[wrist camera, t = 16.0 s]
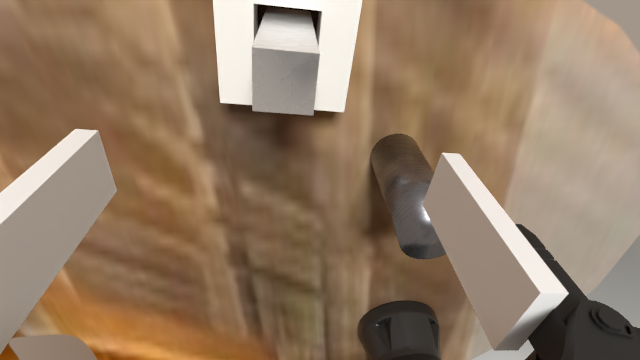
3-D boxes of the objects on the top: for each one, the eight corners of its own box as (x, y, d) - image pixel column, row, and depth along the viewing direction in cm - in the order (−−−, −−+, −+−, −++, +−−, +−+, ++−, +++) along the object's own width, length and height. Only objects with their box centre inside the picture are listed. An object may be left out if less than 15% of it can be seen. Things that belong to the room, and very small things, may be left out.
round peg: (410, 175, 43) (452, 259, 32) (366, 173, 42) (392, 258, 31) (424, 135, 40) (476, 213, 28) (376, 132, 39) (409, 211, 28)
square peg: (306, 55, 33) (313, 115, 22) (266, 51, 33) (252, 111, 21) (310, 11, 31) (320, 53, 20) (267, 6, 30) (251, 47, 19)
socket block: (339, 96, 36) (343, 112, 33) (227, 87, 35) (220, 102, 31) (359, -34, 29) (367, -30, 26) (219, -52, 28) (209, -50, 24)
